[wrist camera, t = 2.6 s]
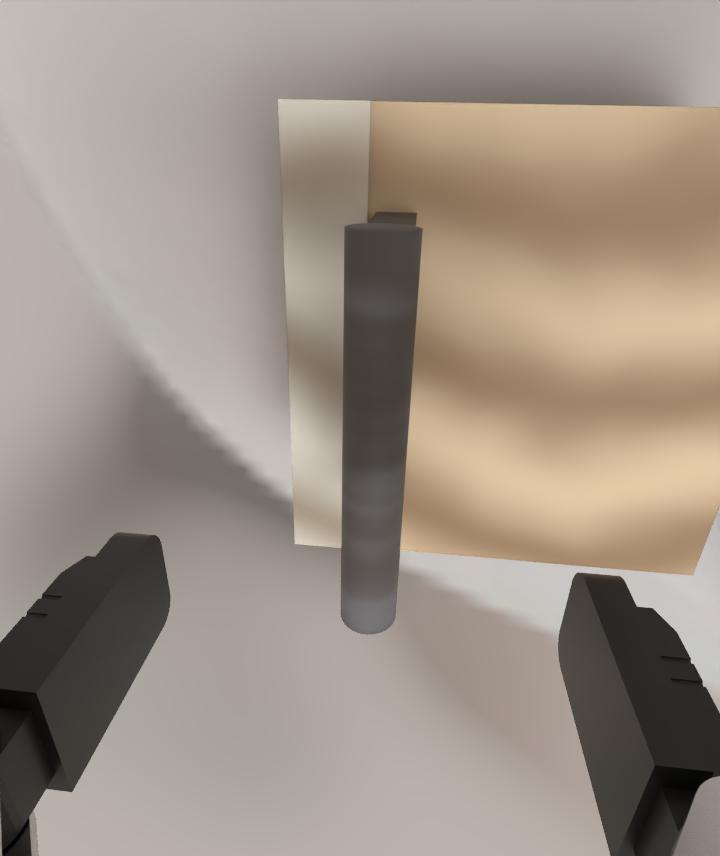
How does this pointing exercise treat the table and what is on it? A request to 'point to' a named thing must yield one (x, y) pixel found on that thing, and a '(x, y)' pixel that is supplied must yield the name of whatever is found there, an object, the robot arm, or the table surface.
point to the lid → (501, 334)
